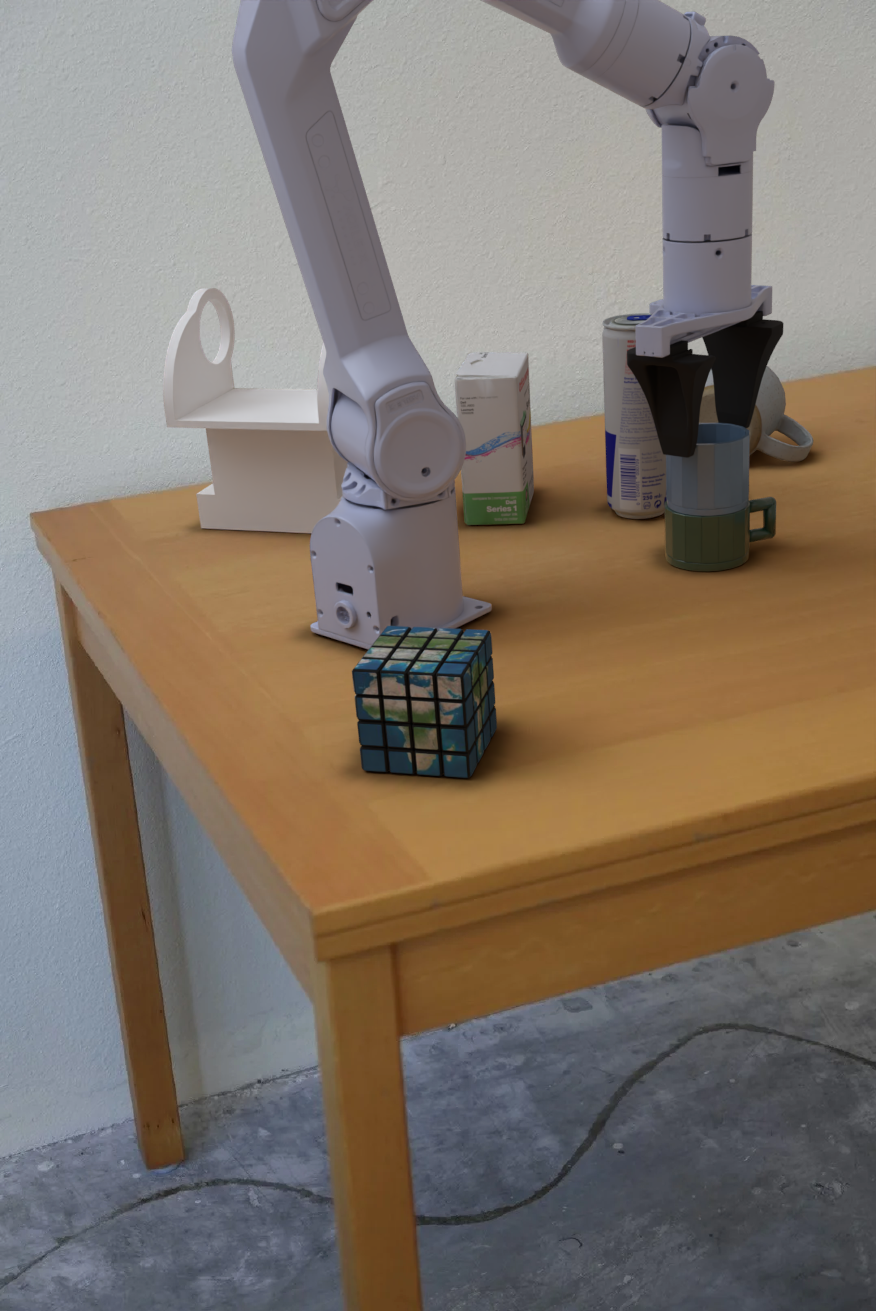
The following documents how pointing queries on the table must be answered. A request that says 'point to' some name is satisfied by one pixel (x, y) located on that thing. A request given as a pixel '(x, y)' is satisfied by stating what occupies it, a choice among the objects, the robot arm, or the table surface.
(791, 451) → the ceramic mug
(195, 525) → the table surface
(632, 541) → the table surface
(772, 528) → the green mug
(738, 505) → the blue cup
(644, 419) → the beverage can
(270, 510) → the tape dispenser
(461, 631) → the puzzle
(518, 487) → the ink box
